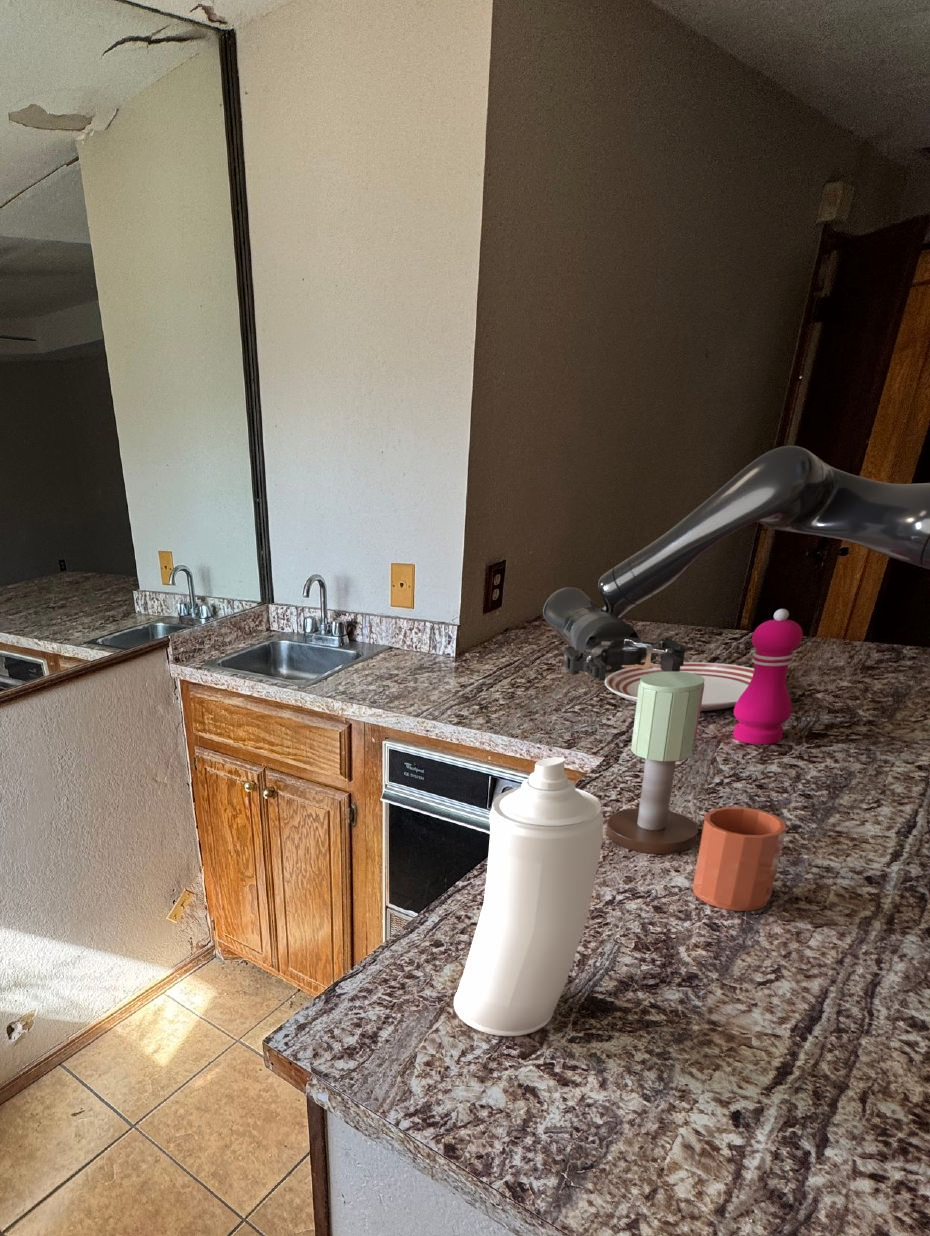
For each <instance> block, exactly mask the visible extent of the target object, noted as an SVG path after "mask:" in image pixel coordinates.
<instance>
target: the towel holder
mask: <svg viewBox="0 0 930 1236" xmlns="http://www.w3.org/2000/svg"><path fill="white" fill-rule="evenodd" d="M644 760H645V761H644V768H643V776H642V783H641V791H640V799H639V806H638V807H634V808H633V807H632V808H626V809H622V810H619V811H616V812H614V813H612V814H611V815H610V816H609V817H608V819H607V822H606V829H605V830H606V831H605V832H606V833H605V834H606V836H607V837H608V838H609V840H610V841H611V842H613V843H614V844H616V845H618V846H619V847H621V848H623V849H627V850H630V851H632V852H633V851H634V852H638V853H642V854H643V853H644V854H651V855H670V854H671V855H672V854H676V853H677V854H678V853H682V852H685V851H687V850H689V849H691V848H692V847H694V846H695V844H696V843H697V838H698V832H699V828H698V826H697V824H696V823H695V822H694V820H692V819H691V818H689V817H687V816H685V815H683V814H681V813H678V812H675V811H671V810H669V809H670V802H671V796H672V791H673V783H674V777H675V776H674V775H675V769H676V764H677V761H656V760H648V759H644Z"/></svg>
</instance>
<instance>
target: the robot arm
mask: <svg viewBox="0 0 930 1236" xmlns="http://www.w3.org/2000/svg"><path fill="white" fill-rule="evenodd" d="M756 522H757V523H759V524H761V525H763V526H765V527H766V528H769V529H772V530H777V531H783V532H790V533H796V534H805V535H813V536H818V537H824V538H831V539H835V540H841V541H845V542H848V543H852V544H855V545H858V546H861V547H863V548H866V549H868V550H871V551H873V552H876V553H878V554H881V555H884V556H887V557H889V558H891V559H894V560H897V561H901V562H904V563H908V564H911V565H914V566H917V567H921V568H923V569H927V570H930V482H926V483H925V482H924V483H923V482H921V483H890V482H883V481H878V480H873V479H870V478H867V477H863V476H859V475H855V474H852V473H849V472H846V471H844V470H841V469H838V468H835V467H833V466H831V465H829V464H828V463H826V462H825V461H823V460H822V459H821V458H819V457H818V456H817V455H815V454H814V453H812V452H811V451H810V450H808V449H807V448H804V447H801V446H799V445H781V446H779V447H775V448H772V449H769V450H768V451H766V452H764V453H763V454H760V456H758V457H757V458H756V459H754V460H753V461H751V462H750V463H749V464H748V465H746V466H745V467H744V468H742V469H741V470H740V471H739V472H737V474H735V475H734V476H733V477H732V478H730V479H729V480H728V481H727V482H726V483H725V484H723V486H721V487H720V488H719V489H718V490H717V491H715V492H714V493H713V494H712V495H711V496H710V497H708V498H707V499H706V500H705V501H704V502H702V503H701V504H700V505H699V506H698V507H696V508H695V509H694V510H693V511H691V512H690V513H689V514H688V515H687V516H685V517H684V518H683V519H682V520H680V521H679V522H678V523H677V524H675V525H674V526H673V527H671V528H670V529H669V530H668V531H666V532H665V533H663V534H662V535H661V536H659V537H658V538H656V539H655V540H654V541H653V542H651V543H650V544H648V545H647V546H645V547H643V548H642V549H641V550H638V551H637V552H636V553H634V554H633V555H631V556H629V557H627V558H626V559H625V560H623V561H622V562H620V563H618V564H617V565H615V566H613V567H612V568H610V569H609V570H608V571H606V572H605V573H604V574H602V576H600V578H599V579H598V584H597V588H598V591H599V594H600V597H601V599H602V602H603V604H604V606H603V607H602V608H601V607H599V606H598V605H597V604H596V603H595V602H594V601H593V600H592V598H590V597H589V596H588V594H587V593H586V592H585V591H584V590H583V589H582V588H580V587H578V586H566V587H562V588H560V589H558V590H556V591H555V592H553V593H552V594H551V595H549V597H548V598H547V600H546V601H545V603H544V605H543V609H542V616H543V619H544V621H545V622H546V623H547V625H548V626H550V628H551V629H552V630H553V631H554V632H555V633H556V634H557V635H558V636H559V637H560V639H561V640H562V641H563V642H564V643H565V644H566V645H567V646H564V647H563V649H564V650H563V661H562V665H563V666H564V668H565V670H566V671H567V672H568V674H569V675H572V676H576V675H579V674H580V672H584V673H583V674H584V675H587V676H590V677H591V678H593V679H596V680H597V681H598V682H605V680H606V678H607V677H606V676H607V674H613V673H615V672H617V671H620V670H623V669H627V668H631V667H635V668H641V669H650V668H653V667H656V668H661V669H662V670H663V671H664V672H669V671H674V672H679V671H680V666H683V665H684V662H685V654H686V651H687V647H686V646H684V645H683V644H681V643H679V642H677V641H676V640H674V639H672V638H669V637H662V638H660V640H659V643H657V642H652V641H644V640H641V638H640V635H639V633H638V631H637V630H636V629H635V628H634V627H633V626H632V625H631V624H629V623H628V622H626V621H624V620H623V619H622V618H621V617H623V615H625V614H626V613H627V612H628V611H630V610H632V609H633V608H634V607H636V606H637V605H639V604H641V603H643V602H644V601H646V600H648V599H650V598H651V597H653V596H654V595H657V594H658V593H659V592H661V591H663V590H665V589H666V588H667V587H670V585H671V584H673V583H674V582H676V580H678V579H679V578H680V577H681V576H682V575H683V574H684V573H685V572H686V571H687V570H688V569H690V567H691V566H692V565H693V564H694V563H695V562H696V561H697V560H698V559H699V558H700V557H701V556H702V555H703V554H704V553H705V552H707V551H708V550H709V549H710V548H712V547H713V546H714V545H715V544H717V543H718V542H720V541H721V540H723V539H724V538H726V537H727V536H729V535H731V534H733V533H734V532H737V531H739V530H740V529H743V528H745V527H747V526H749V525H751V524H753V523H756ZM657 659H658V660H657ZM644 660H645V661H644ZM659 660H660V661H659Z"/></svg>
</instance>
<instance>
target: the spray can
mask: <svg viewBox="0 0 930 1236" xmlns="http://www.w3.org/2000/svg"><path fill="white" fill-rule="evenodd" d="M602 808H603V807H602V804H601V802H600V800H599V799H598V798H597V797H596V796H595V795H593V794H592V793H589V792H587V791H585V790H582V789H580V788H576V784H575V782H573V781H572V780H570V779H569V776H568V775H567V774H566V773H565V758H564V757H559V756H552V757H546V758H543V759H539V760H537V761H536V762H535V764H534V771H533V772H531V773H530V774H529V777H528V778H526V779H524V780H523V781H522V783H521V786H518V787H514V788H511V789H508V790H505V791H504V792H502V793H500V794H499V795H497V796H496V797H495V798H494V799H493V801H492V806H491V809H490V811H489V817H488V818H489V842H488V843H489V844H488V855H487V869H486V877H485V878H486V879H485V887H484V897H483V903H482V907H481V911H480V914H479V918H478V920H477V923H476V928H475V932H474V935H473V939H472V942H471V946H470V949H469V952H468V956H467V959H466V962H465V966H464V969H463V973H462V976H461V979H460V982H459V985H458V988H457V991H456V993H455V995H454V998H453V1008H454V1011H455V1013H456V1014H457V1016H458V1018H459V1019H460V1020H461V1021H462V1022H463V1023H465V1024H466V1025H467V1026H469V1027H471V1028H473V1029H474V1030H476V1031H479V1032H481V1033H484V1034H488V1035H491V1036H498V1037H520V1036H524V1035H525V1036H526V1035H529V1034H533V1033H535V1032H537V1031H539V1030H541V1029H542V1028H544V1027H545V1026H546V1025H547V1024H548V1023H549V1022H550V1021H551V1019H552V1018H553V1015H554V1012H555V1009H556V1007H557V1005H558V1003H559V1001H560V999H561V996H562V994H563V993H564V992H563V991H564V990H565V987H566V984H567V981H568V979H569V976H570V973H571V969H572V966H573V964H574V960H575V958H576V954H577V951H578V948H579V946H580V942H581V939H582V937H583V933H584V930H585V927H586V925H587V921H588V918H589V913H590V908H591V903H592V897H593V892H594V887H595V882H596V878H597V872H598V866H599V861H600V856H601V851H602V846H603V840H604V839H603V838H604V836H603V835H604V815H603V812H602Z"/></svg>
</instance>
